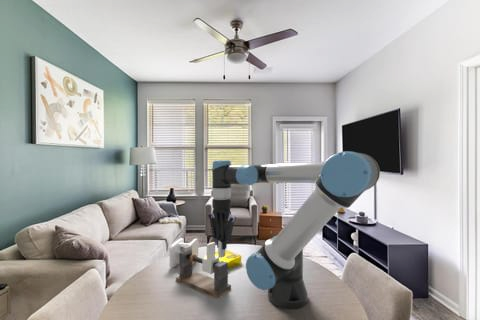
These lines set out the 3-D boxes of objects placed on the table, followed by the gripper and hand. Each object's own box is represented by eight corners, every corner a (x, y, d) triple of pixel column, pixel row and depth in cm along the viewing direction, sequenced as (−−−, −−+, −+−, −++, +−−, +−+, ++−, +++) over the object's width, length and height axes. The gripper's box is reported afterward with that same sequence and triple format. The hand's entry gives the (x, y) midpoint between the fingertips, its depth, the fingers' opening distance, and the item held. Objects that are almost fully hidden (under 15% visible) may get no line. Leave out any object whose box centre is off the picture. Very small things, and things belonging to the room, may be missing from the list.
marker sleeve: (219, 269, 102) (219, 242, 102) (211, 274, 98) (211, 246, 98) (210, 266, 105) (210, 240, 105) (202, 271, 101) (202, 243, 101)
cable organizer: (188, 271, 118) (188, 246, 118) (168, 269, 119) (168, 245, 119) (198, 258, 132) (198, 237, 133) (180, 257, 134) (180, 236, 134)
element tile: (223, 256, 137) (223, 247, 137) (243, 264, 126) (243, 254, 126) (202, 264, 126) (202, 255, 126) (221, 273, 115) (221, 263, 115)
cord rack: (230, 288, 101) (230, 253, 101) (216, 298, 94) (216, 260, 94) (190, 273, 115) (190, 242, 115) (175, 280, 108) (175, 247, 108)
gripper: (240, 198, 97) (240, 257, 97) (215, 195, 105) (215, 250, 105) (228, 200, 91) (228, 263, 91) (203, 197, 99) (203, 255, 99)
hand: (221, 256), depth 98 cm, fingers closed
